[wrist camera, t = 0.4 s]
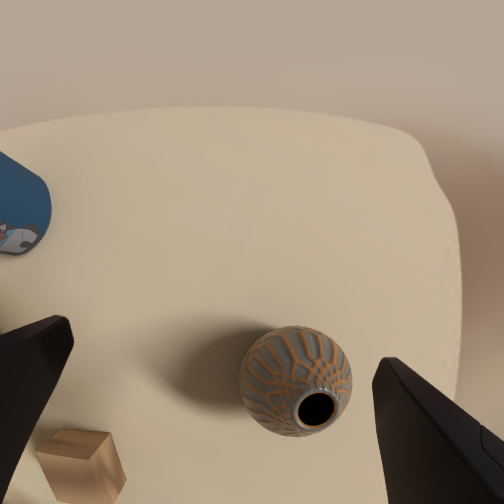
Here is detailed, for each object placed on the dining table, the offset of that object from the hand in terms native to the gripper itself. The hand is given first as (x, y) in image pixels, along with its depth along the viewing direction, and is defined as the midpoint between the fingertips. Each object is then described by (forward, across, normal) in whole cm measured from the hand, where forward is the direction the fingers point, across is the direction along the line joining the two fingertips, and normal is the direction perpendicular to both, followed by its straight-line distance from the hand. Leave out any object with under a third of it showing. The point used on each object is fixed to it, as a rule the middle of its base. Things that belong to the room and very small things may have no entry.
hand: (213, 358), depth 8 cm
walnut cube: (+5, +12, +19) cm, 23 cm away
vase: (+11, -3, +10) cm, 15 cm away
